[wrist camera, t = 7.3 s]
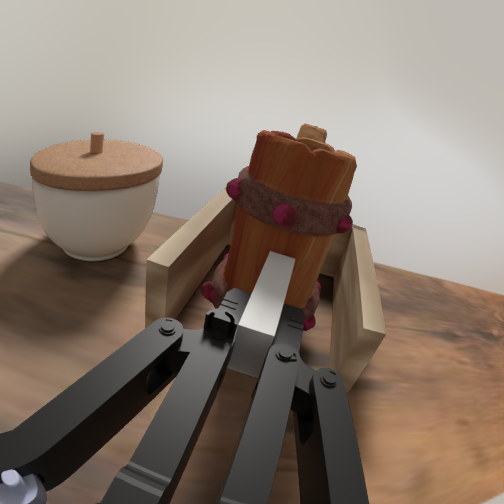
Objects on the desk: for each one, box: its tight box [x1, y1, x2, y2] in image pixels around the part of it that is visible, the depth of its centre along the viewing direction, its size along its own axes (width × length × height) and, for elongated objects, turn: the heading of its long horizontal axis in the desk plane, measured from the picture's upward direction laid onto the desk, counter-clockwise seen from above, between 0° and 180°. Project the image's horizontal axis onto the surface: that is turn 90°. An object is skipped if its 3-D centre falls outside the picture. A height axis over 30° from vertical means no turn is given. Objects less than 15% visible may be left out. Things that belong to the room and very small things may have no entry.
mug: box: [201, 124, 357, 331], centre depth 24 cm, size 15×8×15 cm, turn 165°
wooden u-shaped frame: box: [145, 188, 386, 394], centre depth 27 cm, size 15×16×6 cm
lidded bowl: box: [30, 132, 163, 261], centre depth 27 cm, size 13×13×11 cm
